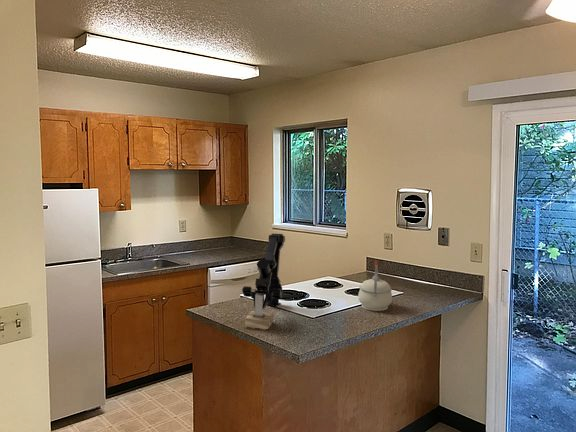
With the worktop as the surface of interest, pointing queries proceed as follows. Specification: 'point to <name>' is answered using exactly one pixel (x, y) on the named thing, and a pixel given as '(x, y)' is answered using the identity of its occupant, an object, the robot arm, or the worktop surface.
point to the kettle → (375, 292)
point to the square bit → (259, 305)
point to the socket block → (259, 320)
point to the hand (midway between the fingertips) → (258, 308)
